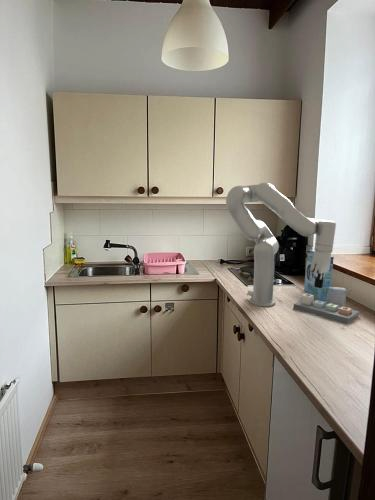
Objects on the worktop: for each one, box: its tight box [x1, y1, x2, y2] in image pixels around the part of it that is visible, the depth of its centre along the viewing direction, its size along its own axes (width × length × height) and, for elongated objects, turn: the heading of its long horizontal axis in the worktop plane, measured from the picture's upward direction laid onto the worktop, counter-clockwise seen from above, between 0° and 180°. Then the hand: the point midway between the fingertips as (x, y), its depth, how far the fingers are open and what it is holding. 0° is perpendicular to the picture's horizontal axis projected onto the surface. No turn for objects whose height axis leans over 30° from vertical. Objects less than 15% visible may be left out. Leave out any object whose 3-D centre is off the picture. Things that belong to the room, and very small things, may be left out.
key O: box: [301, 292, 315, 305], centre depth 161 cm, size 4×4×4 cm
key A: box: [326, 303, 339, 312], centre depth 154 cm, size 4×4×4 cm
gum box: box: [303, 249, 335, 302], centre depth 179 cm, size 20×5×23 cm, turn 6°
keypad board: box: [292, 299, 360, 325], centre depth 156 cm, size 25×12×2 cm, turn 44°
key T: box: [313, 299, 327, 308], centre depth 158 cm, size 4×4×4 cm
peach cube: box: [339, 306, 353, 315], centre depth 150 cm, size 4×4×4 cm
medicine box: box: [326, 286, 347, 307], centre depth 165 cm, size 8×4×9 cm, turn 74°
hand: (318, 287), depth 157 cm, fingers closed
